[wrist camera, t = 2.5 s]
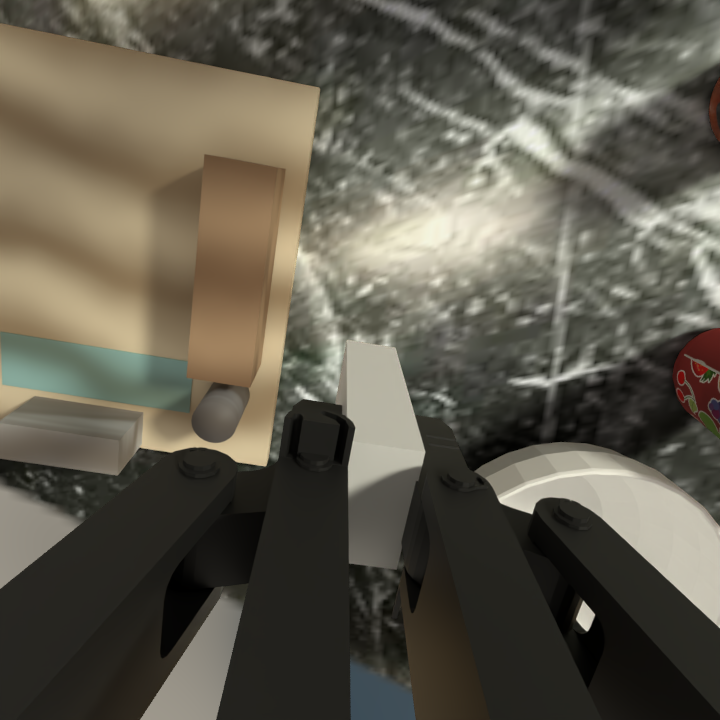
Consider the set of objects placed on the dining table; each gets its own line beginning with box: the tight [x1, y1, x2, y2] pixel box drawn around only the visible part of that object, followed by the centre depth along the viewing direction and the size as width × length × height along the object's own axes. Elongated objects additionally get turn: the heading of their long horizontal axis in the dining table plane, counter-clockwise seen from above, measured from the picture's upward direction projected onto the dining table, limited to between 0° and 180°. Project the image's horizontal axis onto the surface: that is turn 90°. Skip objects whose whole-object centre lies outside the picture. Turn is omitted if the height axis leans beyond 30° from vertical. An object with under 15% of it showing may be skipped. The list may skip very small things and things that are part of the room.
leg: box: [186, 154, 286, 388], centre depth 30 cm, size 12×4×4 cm, turn 170°
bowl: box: [474, 442, 720, 631], centre depth 36 cm, size 19×19×9 cm
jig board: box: [0, 23, 320, 475], centre depth 31 cm, size 24×18×6 cm
